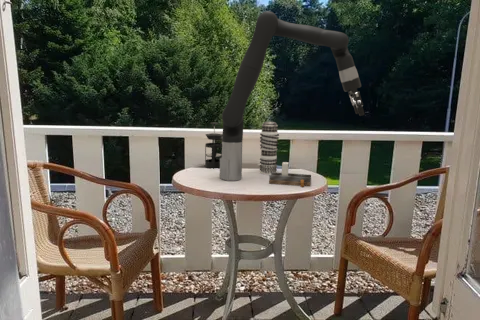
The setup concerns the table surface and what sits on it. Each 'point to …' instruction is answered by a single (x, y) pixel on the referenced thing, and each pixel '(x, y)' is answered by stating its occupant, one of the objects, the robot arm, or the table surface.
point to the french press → (213, 150)
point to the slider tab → (285, 169)
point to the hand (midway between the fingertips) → (360, 114)
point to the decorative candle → (268, 148)
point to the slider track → (290, 179)
